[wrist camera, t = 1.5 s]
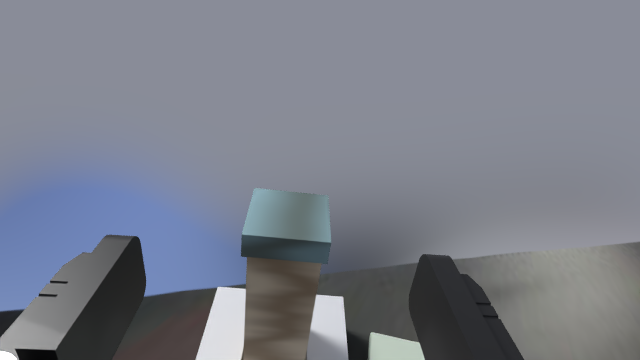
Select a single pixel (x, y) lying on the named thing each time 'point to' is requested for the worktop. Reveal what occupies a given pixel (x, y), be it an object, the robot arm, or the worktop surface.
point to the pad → (393, 348)
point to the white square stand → (229, 320)
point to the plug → (282, 271)
